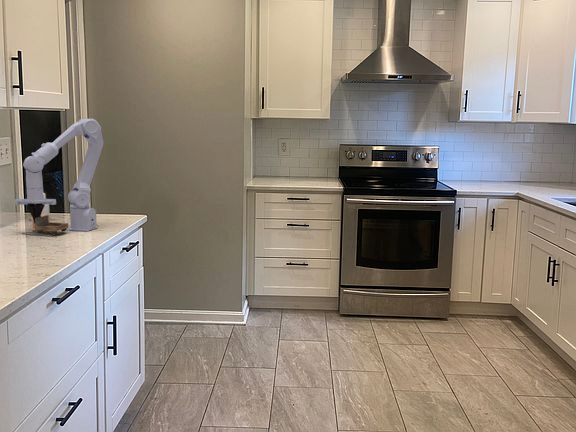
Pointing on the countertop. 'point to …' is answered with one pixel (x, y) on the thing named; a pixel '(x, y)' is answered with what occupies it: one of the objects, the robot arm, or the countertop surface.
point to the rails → (40, 234)
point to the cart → (48, 225)
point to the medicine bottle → (46, 207)
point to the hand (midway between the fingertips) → (37, 223)
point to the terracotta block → (41, 216)
